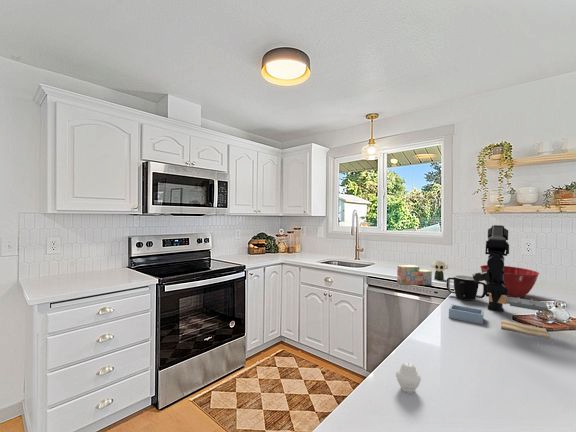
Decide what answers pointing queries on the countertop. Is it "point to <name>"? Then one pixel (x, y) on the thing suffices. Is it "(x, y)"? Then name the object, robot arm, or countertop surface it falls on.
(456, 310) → the tub
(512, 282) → the mixing bowl
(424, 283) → the stack of blocks
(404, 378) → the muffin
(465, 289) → the mug
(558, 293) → the countertop surface
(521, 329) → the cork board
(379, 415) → the countertop surface
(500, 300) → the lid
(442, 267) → the big eared figurine
